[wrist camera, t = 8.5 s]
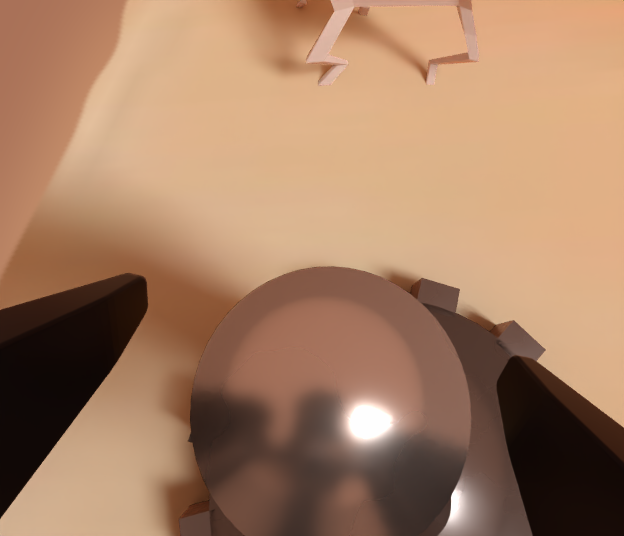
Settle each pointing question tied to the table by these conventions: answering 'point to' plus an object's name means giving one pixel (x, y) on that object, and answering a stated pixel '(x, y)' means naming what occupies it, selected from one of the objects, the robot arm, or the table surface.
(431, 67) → the origami figure
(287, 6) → the table surface
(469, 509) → the sprocket plate
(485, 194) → the table surface
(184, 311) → the table surface
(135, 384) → the table surface
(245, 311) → the drive pin
